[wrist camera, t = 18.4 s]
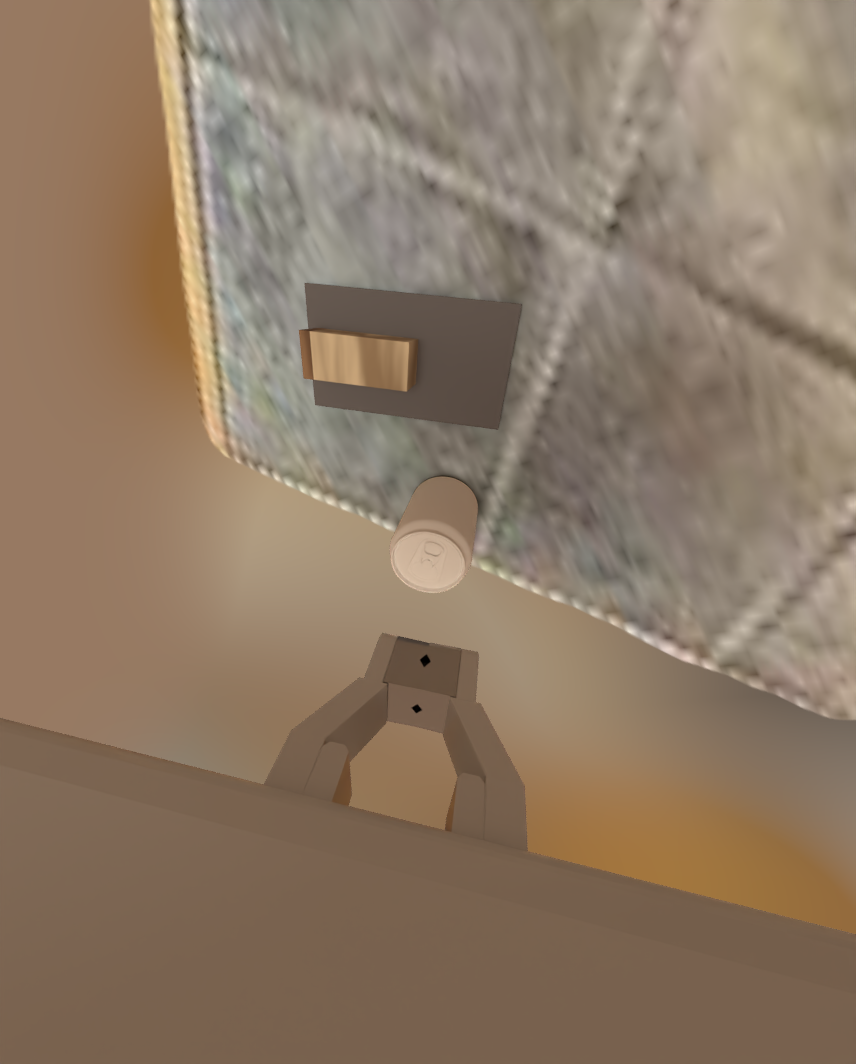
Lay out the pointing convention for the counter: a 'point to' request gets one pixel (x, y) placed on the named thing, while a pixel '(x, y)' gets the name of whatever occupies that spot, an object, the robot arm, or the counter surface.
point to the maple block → (359, 358)
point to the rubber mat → (424, 352)
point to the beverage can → (435, 536)
